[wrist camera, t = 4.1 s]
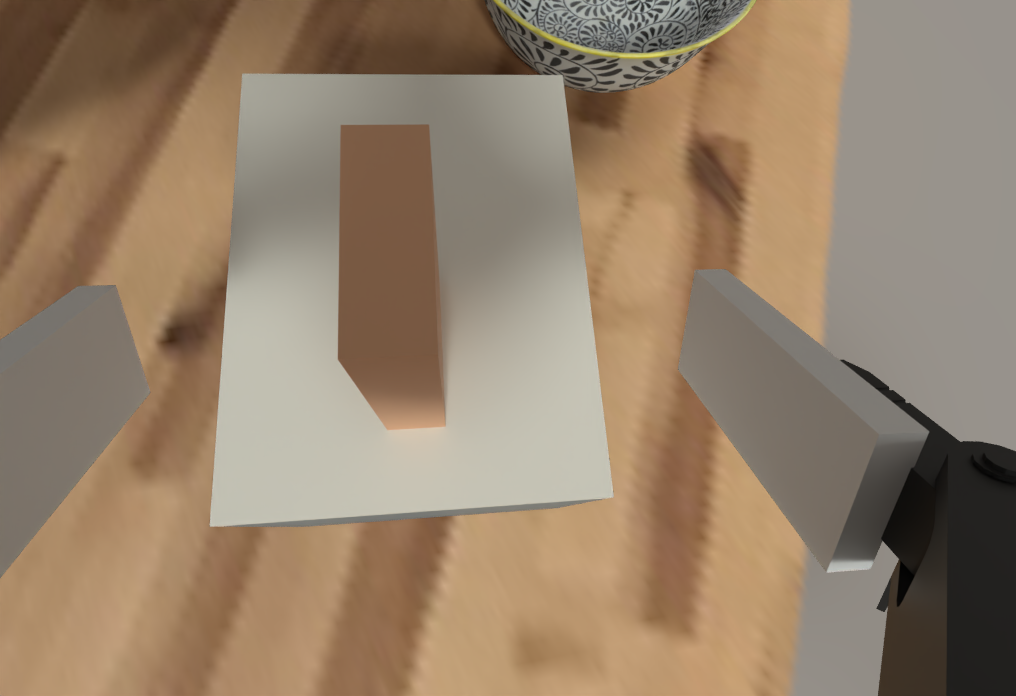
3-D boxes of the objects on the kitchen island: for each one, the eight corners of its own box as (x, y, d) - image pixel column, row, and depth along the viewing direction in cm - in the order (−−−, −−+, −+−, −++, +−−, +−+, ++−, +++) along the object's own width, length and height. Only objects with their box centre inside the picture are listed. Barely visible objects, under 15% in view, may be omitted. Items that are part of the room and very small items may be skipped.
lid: (249, 89, 22) (124, -176, 14) (559, 89, 23) (616, -154, 15) (220, 526, 18) (6, 524, 9) (607, 498, 19) (728, 475, 10)
